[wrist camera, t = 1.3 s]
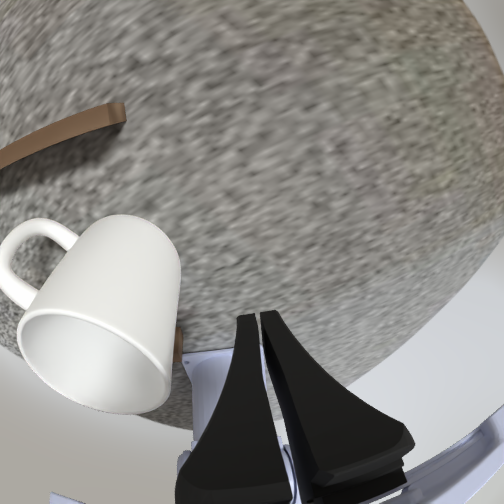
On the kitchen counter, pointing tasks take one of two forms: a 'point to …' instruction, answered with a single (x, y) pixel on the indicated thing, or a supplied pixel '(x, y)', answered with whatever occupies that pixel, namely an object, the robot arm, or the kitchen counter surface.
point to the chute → (67, 130)
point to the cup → (100, 312)
